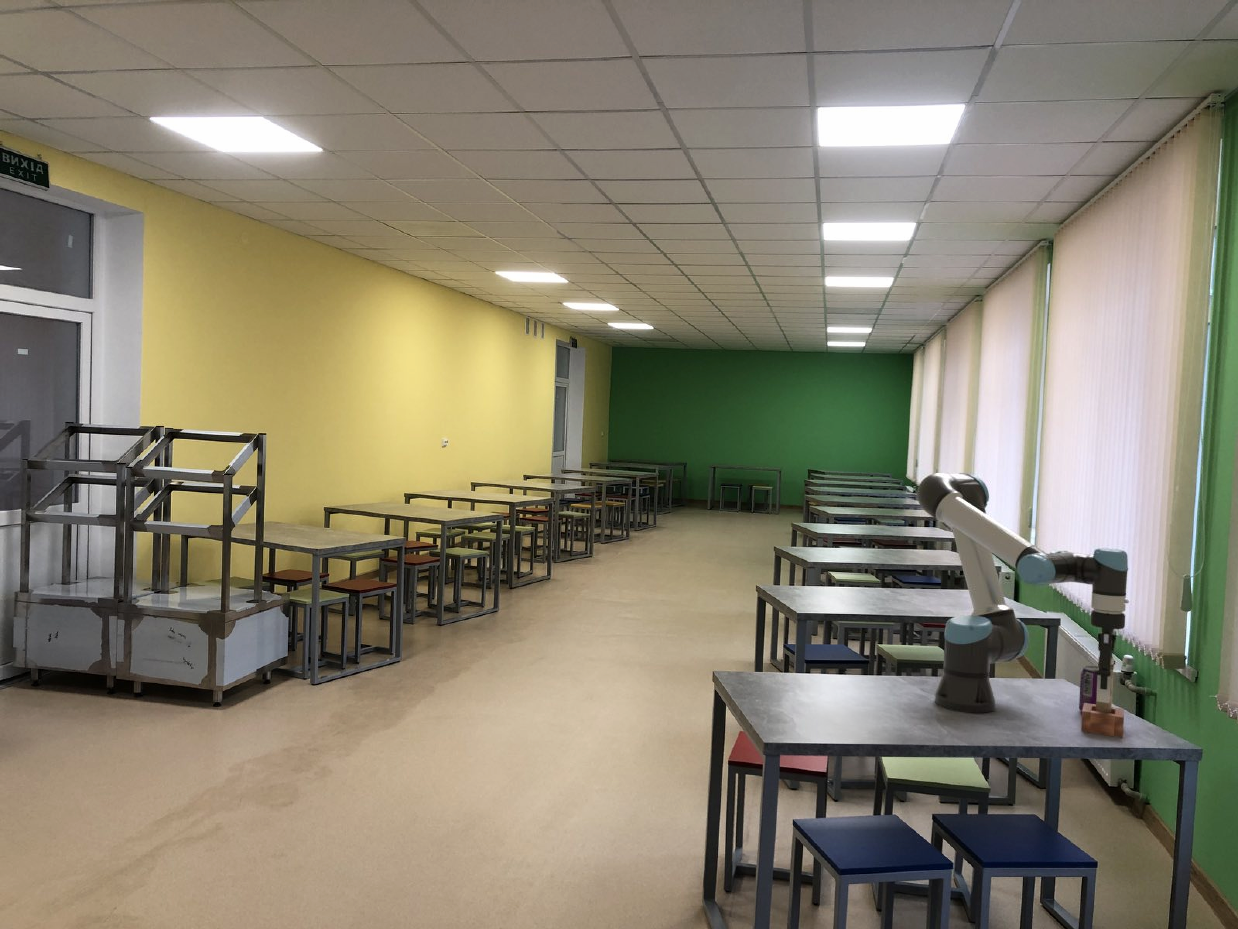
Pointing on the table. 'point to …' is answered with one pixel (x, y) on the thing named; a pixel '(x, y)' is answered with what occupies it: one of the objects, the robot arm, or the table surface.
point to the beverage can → (1088, 686)
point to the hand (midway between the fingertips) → (1104, 696)
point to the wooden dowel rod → (1107, 706)
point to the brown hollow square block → (1102, 721)
